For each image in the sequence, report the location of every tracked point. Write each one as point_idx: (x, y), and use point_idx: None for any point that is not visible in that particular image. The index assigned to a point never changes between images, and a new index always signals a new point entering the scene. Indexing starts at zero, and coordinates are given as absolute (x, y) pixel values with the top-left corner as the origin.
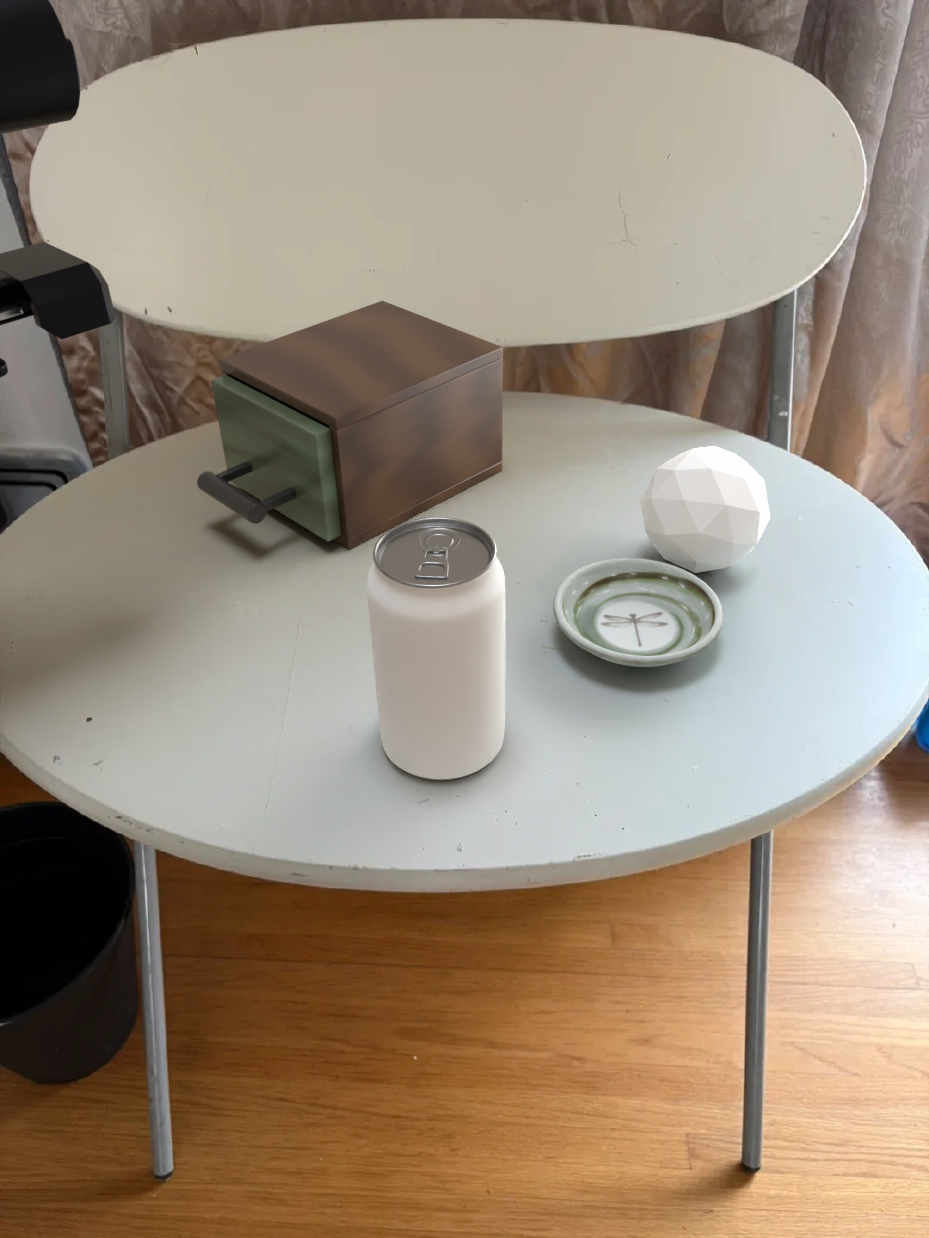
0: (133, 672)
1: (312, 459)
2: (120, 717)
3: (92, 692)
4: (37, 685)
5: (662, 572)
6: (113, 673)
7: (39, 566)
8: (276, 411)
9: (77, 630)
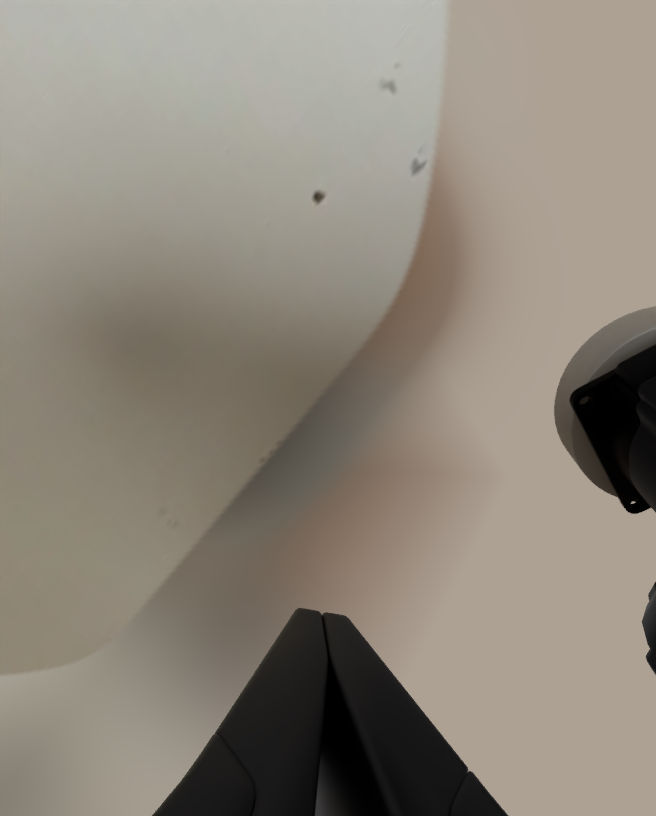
0: (188, 228)
1: None
2: (283, 149)
3: (267, 250)
4: (308, 345)
5: None
6: (212, 258)
7: (114, 572)
8: None
9: (177, 400)
